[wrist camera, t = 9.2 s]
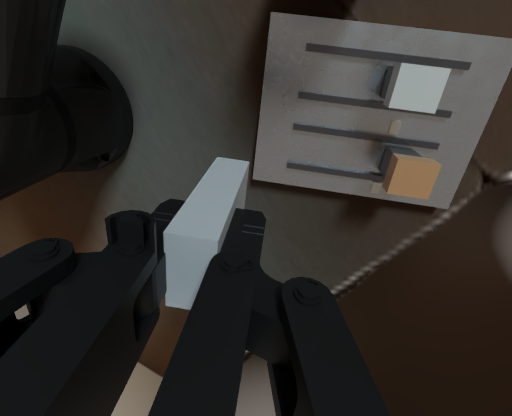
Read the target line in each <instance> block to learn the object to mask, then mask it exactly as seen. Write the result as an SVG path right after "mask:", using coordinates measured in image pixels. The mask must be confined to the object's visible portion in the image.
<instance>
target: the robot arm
mask: <svg viewBox="0 0 512 416" xmlns="http://www.w3.org/2000/svg"><path fill="white" fill-rule="evenodd" d="M65 2H66V0H0V200H2V199H4V198H6V197H8V196H10V195H12V194H14V193H16V192H18V191H21V190H23V189H25V188H27V187H29V186H31V185H33V184H35V183H37V182H39V181H41V180H44V179H46V178H48V177H50V176H52V175H54V174H56V173H58V172H76V171H91V170H96V169H99V168H102V167H104V166H106V165H108V164H110V163H112V162H113V161H115V160H117V159H118V158H119V157H120V156H121V155H122V154H123V153H124V152H125V150H126V149H127V147H128V145H129V143H130V140H131V136H132V131H133V117H132V110H131V106H130V103H129V100H128V97H127V95H126V92H125V90H124V88H123V87H122V85H121V83H120V82H119V80H118V79H117V77H116V76H115V75H114V73H113V72H112V71H111V70H110V69H109V68H108V67H107V66H106V65H105V64H104V63H103V62H102V61H100V60H99V59H98V58H96V57H95V56H93V55H92V54H90V53H88V52H86V51H84V50H82V49H79V48H76V47H72V46H65V45H57V41H58V36H59V31H60V26H61V21H62V16H63V11H64V7H65ZM248 170H249V162H248V161H241V160H234V159H228V158H221V157H217V158H216V160H215V161H214V162H213V164H212V165H211V166H210V168H209V169H208V171H207V172H206V173H205V175H204V176H203V178H202V179H201V180H200V182H199V183H198V185H197V186H196V187H195V189H194V190H193V192H192V193H191V194H190V196H189V197H188V199H187V200H186V201H183V200H176V199H169V200H167V201H165V202H163V203H161V204H160V205H159V206H158V207H157V208H156V209H155V210H154V212H153V213H152V214H149V213H147V212H143V211H136V210H128V211H121V212H117V213H114V214H111V215H110V216H108V217H107V218H105V224H106V231H107V238H108V245H107V246H106V247H105V248H104V249H103V250H102V252H90V253H75V252H74V248H73V245H72V243H71V242H69V241H68V240H65V239H60V238H46V239H42V240H37V241H34V242H31V243H29V244H26V245H24V246H22V247H20V248H18V249H16V250H14V251H13V252H11V253H9V254H7V255H5V256H3V257H1V258H0V416H111V414H112V412H113V410H114V408H115V406H116V404H117V402H118V400H119V398H120V396H121V394H122V392H123V390H124V388H125V386H126V384H127V382H128V380H129V378H130V376H131V374H132V372H133V370H134V368H135V366H136V364H137V362H138V360H139V358H140V356H141V354H142V352H143V350H144V348H145V346H146V344H147V342H148V340H149V338H150V336H151V334H152V332H153V330H154V328H155V326H156V324H157V321H158V319H159V315H160V302H161V300H162V299H163V297H164V295H165V298H166V306H170V307H176V308H182V309H188V310H190V312H189V315H188V317H187V320H186V322H185V325H184V327H183V330H182V332H181V335H180V337H179V340H178V342H177V345H176V347H175V350H174V352H173V355H172V357H171V360H170V362H169V365H168V367H167V370H166V372H165V375H164V377H163V380H162V382H161V385H160V387H159V390H158V392H157V395H156V397H155V400H154V402H153V405H152V407H151V410H150V412H149V415H148V416H235V412H236V406H237V399H238V393H239V387H240V381H241V374H242V368H243V363H244V356H245V351H246V350H248V351H249V352H251V353H253V354H255V355H257V356H259V357H261V358H263V359H265V360H267V366H268V372H269V378H270V383H271V389H272V395H273V401H274V407H275V412H276V416H391V415H390V413H389V411H388V409H387V407H386V405H385V403H384V401H383V399H382V397H381V394H380V392H379V390H378V388H377V386H376V384H375V382H374V380H373V378H372V376H371V374H370V371H369V369H368V367H367V365H366V363H365V361H364V359H363V357H362V355H361V353H360V350H359V348H358V346H357V344H356V342H355V340H354V338H353V336H352V334H351V332H350V330H349V327H348V325H347V323H346V321H345V319H344V317H343V315H342V313H341V311H340V309H339V307H338V304H337V302H336V300H335V298H334V296H333V294H332V293H331V292H330V290H329V289H328V288H327V287H326V286H325V285H323V284H322V283H321V282H319V281H316V280H314V279H311V278H306V277H296V278H291V279H290V280H288V281H286V282H285V283H284V284H283V283H281V282H278V281H276V280H274V279H272V278H270V277H269V276H268V275H267V274H265V272H264V271H263V270H262V268H261V266H260V255H261V249H262V243H263V236H264V230H265V223H266V218H265V217H264V215H263V213H262V212H259V211H253V210H247V209H244V205H245V196H246V187H247V178H248ZM25 304H26V306H27V309H28V311H29V315H27V316H26V317H24V318H22V319H16V316H15V313H14V312H15V311H17V310H18V309H19V308H21V307H22V306H24V305H25Z"/></svg>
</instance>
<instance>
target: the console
mask: <svg viewBox="0 0 512 416" xmlns="http://www.w3.org/2000/svg"><path fill="white" fill-rule="evenodd" d="M395 63H408V64H416V65H424V66H433V67H441V68H449V69H451V71H450V74H449V77H448V80H447V82H446V85H445V88H444V90H443V93H442V96H441V99H440V101H439V104H438V107H437V109H436V112H435V114H433V113H425V112H418V111H410V110H402V109H395V108H388V107H386V106H385V105H383V103H384V100H385V99H383V98H381V97H380V95H381V91H382V87H383V84H384V80H385V77H386V73H387V70H388V66H394V65H395ZM511 67H512V39H511V38H502V37H493V36H484V35H475V34H466V33H457V32H448V31H439V30H430V29H421V28H412V27H403V26H394V25H385V24H376V23H367V22H358V21H349V20H340V19H331V18H322V17H313V16H304V15H295V14H286V13H277V12H271V17H270V26H269V35H268V44H267V53H266V62H265V71H264V80H263V89H262V98H261V107H260V116H259V126H258V135H257V144H256V153H255V162H254V171H253V179H254V180H261V181H267V182H274V183H280V184H287V185H294V186H300V187H307V188H313V189H320V190H326V191H333V192H339V193H346V194H352V195H359V196H365V197H372V198H378V199H385V200H391V201H398V202H404V203H411V204H417V205H424V206H430V207H437V208H443V209H448V208H449V205H450V203H451V201H452V199H453V196H454V194H455V192H456V190H457V187H458V185H459V183H460V181H461V179H462V176H463V174H464V172H465V170H466V167H467V165H468V163H469V161H470V159H471V156H472V154H473V152H474V150H475V147H476V145H477V143H478V141H479V139H480V136H481V134H482V132H483V130H484V127H485V125H486V123H487V121H488V119H489V116H490V114H491V112H492V110H493V107H494V105H495V103H496V101H497V99H498V96H499V94H500V92H501V90H502V87H503V85H504V83H505V81H506V79H507V76H508V74H509V72H510V70H511ZM387 146H388V147H395V148H402V149H409V150H415V151H416V152H417V153H418V154H420V155H421V156H422V157H424V158H431V159H434V160H436V161H437V162H438V163H440V164H441V165H442V166H441V169H440V171H439V174H438V176H437V179H436V181H435V183H434V186H433V188H432V191H431V193H430V196H429V198H428V200H427V199H420V198H413V197H407V196H400V195H394V194H387V193H386V191H385V190H384V188H383V187H382V185H383V182H384V178H383V176H382V175H381V173H380V172H379V171H380V167H381V164H382V161H383V158H384V155H385V151H386V148H387Z"/></svg>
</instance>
